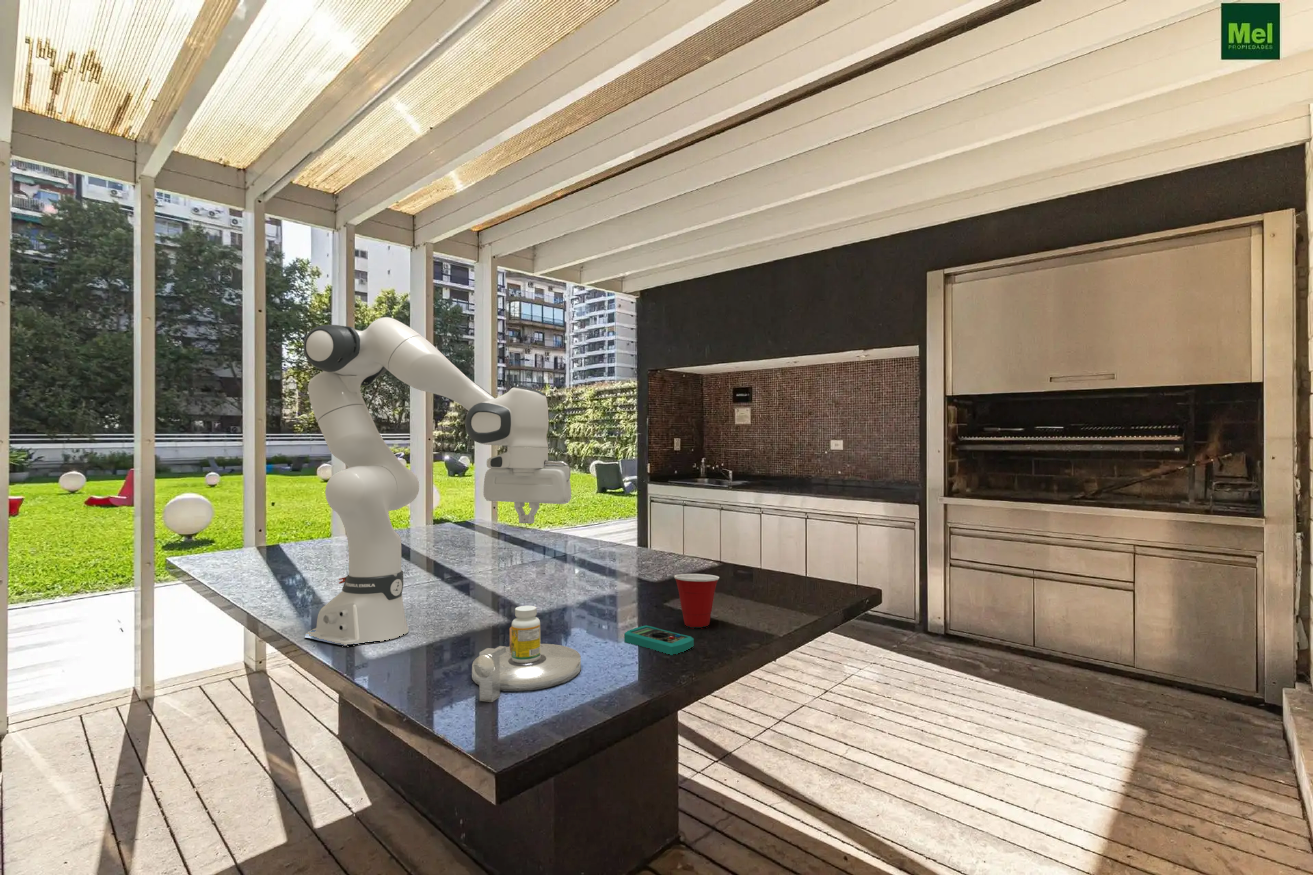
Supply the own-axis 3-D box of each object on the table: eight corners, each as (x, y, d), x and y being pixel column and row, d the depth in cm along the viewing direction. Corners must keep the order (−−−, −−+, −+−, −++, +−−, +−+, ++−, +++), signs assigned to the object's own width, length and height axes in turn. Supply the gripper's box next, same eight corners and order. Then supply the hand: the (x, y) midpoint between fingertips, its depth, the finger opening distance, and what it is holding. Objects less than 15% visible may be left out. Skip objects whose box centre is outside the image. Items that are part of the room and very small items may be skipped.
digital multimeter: (673, 658, 124) (673, 643, 124) (622, 643, 134) (622, 630, 134) (696, 650, 129) (696, 636, 129) (645, 636, 139) (645, 623, 139)
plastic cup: (726, 622, 149) (725, 572, 149) (711, 634, 139) (710, 580, 139) (684, 617, 153) (684, 569, 154) (667, 628, 143) (666, 577, 144)
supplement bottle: (538, 663, 113) (538, 611, 113) (509, 664, 113) (509, 612, 113) (542, 654, 118) (541, 604, 119) (514, 655, 118) (513, 605, 118)
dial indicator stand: (473, 702, 102) (473, 653, 102) (493, 688, 108) (493, 642, 108) (492, 704, 101) (492, 655, 101) (512, 690, 106) (511, 644, 107)
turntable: (484, 699, 102) (484, 663, 102) (463, 663, 120) (463, 632, 120) (596, 678, 111) (596, 644, 111) (561, 648, 129) (561, 619, 129)
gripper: (576, 461, 135) (575, 523, 135) (495, 459, 141) (494, 519, 141) (563, 461, 129) (562, 527, 129) (480, 459, 135) (478, 522, 135)
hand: (526, 523), depth 135 cm, fingers closed
